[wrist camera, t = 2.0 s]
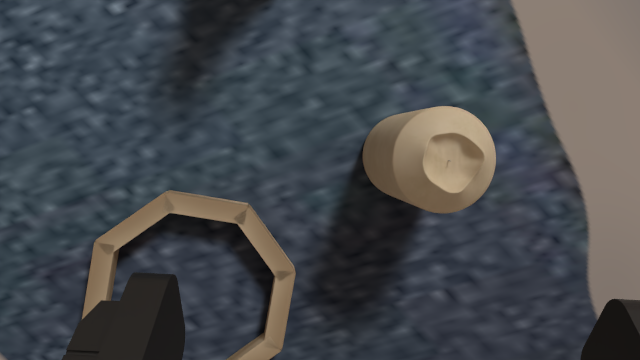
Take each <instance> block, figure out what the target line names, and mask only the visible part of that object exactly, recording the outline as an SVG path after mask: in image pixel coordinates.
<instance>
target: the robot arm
mask: <svg viewBox="0 0 640 360" xmlns="http://www.w3.org/2000/svg"><path fill="white" fill-rule="evenodd" d="M184 344H185V323H184V317H183V311H182V305H181V299H180V293H179V287H178V281H177V277H176V276H175V275H174V274H155V273H133V274H132V275H131V277H130V278H129V280H128V283H127V285H126V287H125V290H124V292H123V295H122V297H121V300H120V301H106V300H101V301H100V302H99V303H98V304H97V305H96V306H95V307H94V308H93V309H92V310H91V311H90V312H89V313H88V314H87V315H86V316H85V317H84V318H83V319H82V320H81V321H80V322H79V324H78V326H77V328H76V330H75V332H74V335H73V337H72V339H71V341H70V343H69V345H68V347H67V352H66V355H64V356H63V358H62V360H182V357H183V351H184ZM581 360H640V300H624V299H612V300H610V301H609V302H608V303H607V304H606V306H605V307H604V309H603V311H602V313H601V315H600V317H599V319H598V321H597V322H596V324H595V326H594V328H593V330H592V332H591V334H590V336H589V338H588V339H587V341H586V343H585V345H584V347H583V350H582V354H581Z"/></svg>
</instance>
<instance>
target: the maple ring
mask: <svg viewBox="0 0 640 360" xmlns="http://www.w3.org/2000/svg"><path fill="white" fill-rule="evenodd" d="M247 205H248V203H244V202H238V201H232V200H226V199H220V198H214V197H208V196H202V195H196V194H190V193H183V192H177V191H171V190H169V191H166V192H165V193H163V194H162V195H160V196H159V197H157V198H156V199H154V200H153V201H152V202H150V203H149V204H147V205H146V206H144V207H143V208H141V209H140V210H139V211H137V212H136V213H134V214H133V215H131V216H130V217H128V218H127V219H126V220H124V221H123V222H121V223H120V224H118V225H117V226H116V227H114V228H113V229H111V230H110V231H108V232H107V233H105V234H104V235H103V236H101V237H100V238H98V239H97V240H96V241H95V242H94V248H93V254H92V260H91V266H90V273H89V279H88V285H87V291H86V297H85V304H84V310H83V316H82V319H83V318H84V317H85V316H86V315H87V314H88V313H89V312H90V311H91V310H92V309H93V308H94V307H95V306H96V305H97V304H98V303H99V302H100V301H101V300H106V301H111V297H112V291H113V285H114V279H115V272H116V266H117V260H118V254H119V248H120V247H122V246H123V245H124V244H126V243H127V242H129V241H130V240H132V239H133V238H134V237H136V236H137V235H139V234H140V233H142V232H143V231H145V230H146V229H147V228H149V227H150V226H152V225H153V224H155V223H156V222H157V221H159V220H160V219H162V218H163V217H165V216H166V215H168V214H169V213H174V214H181V215H187V216H193V217H199V218H205V219H212V220H218V221H224V222H230V223H236V224H238V225H239V227H240V228H241V229H242V231H243V232H244V234H245V235H246V236H247V238H248V239H249V240H250V242H251V243H252V245H253V246H254V247H255V249H256V250H257V251H258V253H259V254H260V256H261V257H262V258H263V260H264V261H265V263H266V264H267V265H268V267H269V268H270V269H271V271H272V272H273V274H274V280H273V285H272V291H271V297H270V302H269V308H268V314H267V319H266V325H265V331H264V333H262V334H261V335H260V336H258V337H257V338H256V339H254V340H253V341H251V342H250V343H249V344H247V345H246V346H244V347H243V348H242V349H240V350H239V351H237V352H236V353H235V354H233V355H232V356H230V357H229V358H228V359H226V360H269V359H271V358H272V357H273V356H275V355H276V354H277V353H279V352H280V351H281V349H282V346H283V341H284V335H285V329H286V324H287V318H288V313H289V307H290V301H291V296H292V290H293V285H294V279H295V274H296V272H295V268H294V265H293V264H292V263H291V261H290V260H289V258H288V257H287V256H286V254H285V253H284V251H283V250H282V249H281V247H280V246H279V244H278V243H277V242H276V240H275V239H274V238H273V236H272V235H271V233H270V232H269V231H268V229H267V228H266V226H265V225H264V224H263V222H262V221H261V219H260V218H259V217H258V215H257V214H256V212H255V211H254V210H253V208H252V207H251V206H250V204H249V205H248V206H247Z"/></svg>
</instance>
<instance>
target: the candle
mask: <svg viewBox="0 0 640 360" xmlns="http://www.w3.org/2000/svg"><path fill="white" fill-rule="evenodd" d="M363 164H364V169H365V171H366V174H367V176H368V178H369V179H370V181H371V182H372V183H373V184H374V185H375V186H376V187H377V188H378V189H379V190H381V191H382V192H384V193H386V194H388V195H390V196H392V197H395V198H397V199H400V200H402V201H404V202H407V203H409V204H412V205H414V206H417V207H419V208H421V209H424V210H427V211H430V212H435V213H451V212H456V211H459V210H462V209H464V208H466V207H468V206H470V205H471V204H473V203H474V202H475V201H477V200H478V199H479V198H480V197H481V196H482V195H483V193H484V192H485V191H486V189H487V188H488V186H489V184H490V182H491V180H492V178H493V174H494V171H495V165H496V154H495V147H494V143H493V140H492V137H491V135H490V133H489V131H488V130H487V128H486V127H485V126H484V124H483V123H482V122H481V121H480V120H479V119H478V118H477V117H475V116H474V115H472V114H471V113H469V112H467V111H465V110H463V109H460V108H456V107H451V106H440V107H433V108H428V109H423V110H417V111H412V112H407V113H402V114H397V115H393V116H391V117H388V118H386V119H384V120H382V121H381V122H379V123H378V124H377V125H376V126H375V127H374V128H373V129H372V130H371V132H370V133H369V135H368V137H367V139H366V141H365V144H364V148H363Z"/></svg>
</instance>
